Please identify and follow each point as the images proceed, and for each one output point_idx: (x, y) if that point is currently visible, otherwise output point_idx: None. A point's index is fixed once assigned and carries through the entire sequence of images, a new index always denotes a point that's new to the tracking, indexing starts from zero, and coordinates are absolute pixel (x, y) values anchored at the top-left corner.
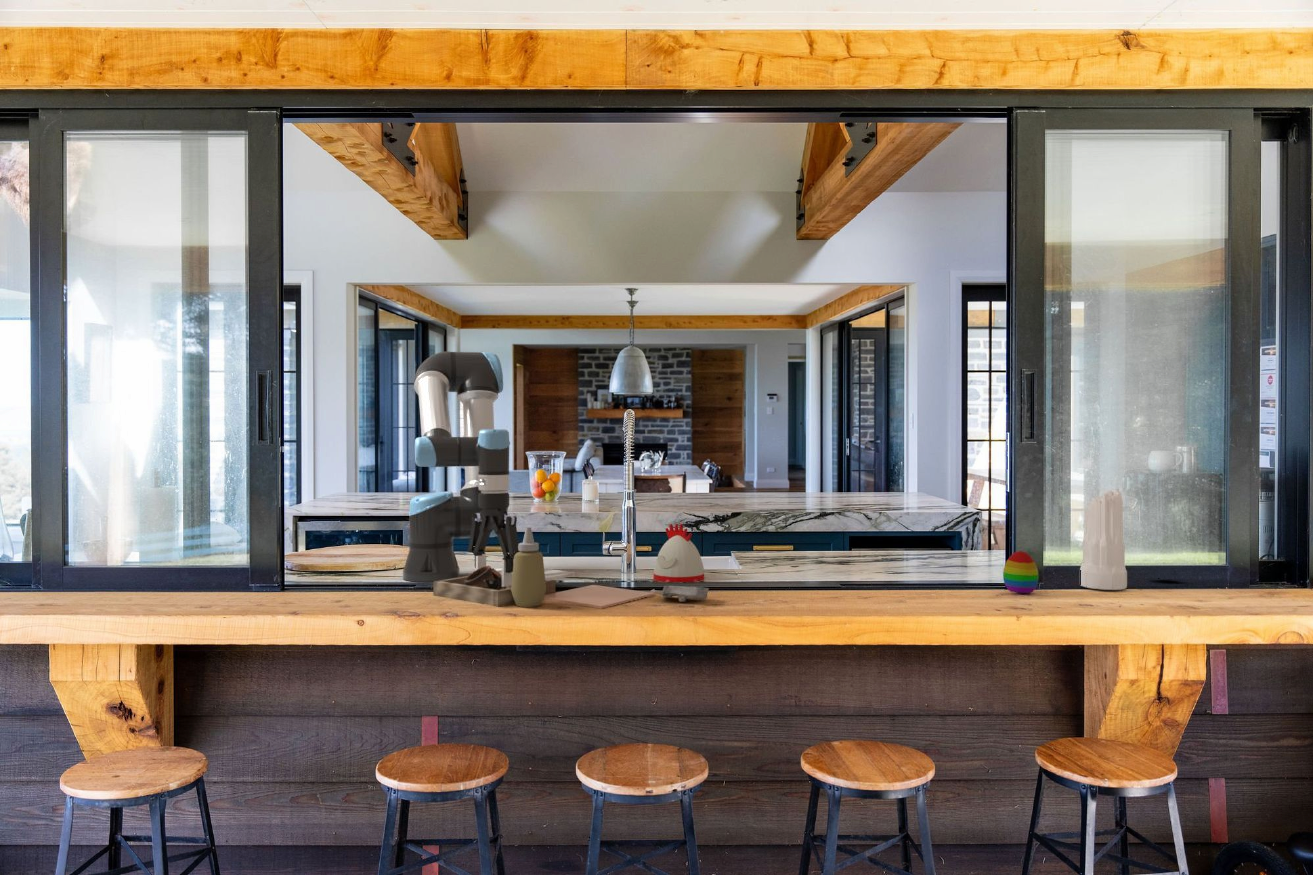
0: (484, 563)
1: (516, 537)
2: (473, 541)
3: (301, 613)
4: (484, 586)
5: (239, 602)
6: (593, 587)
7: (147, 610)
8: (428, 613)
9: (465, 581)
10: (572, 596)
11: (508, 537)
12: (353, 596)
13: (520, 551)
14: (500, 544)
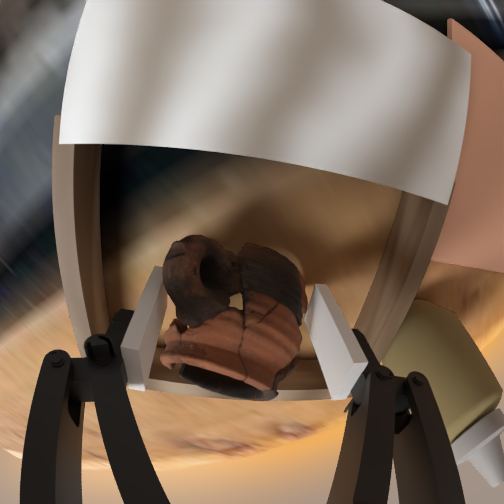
0: (150, 326)
1: (445, 456)
2: (80, 442)
3: (104, 457)
4: (98, 175)
5: (8, 421)
6: (473, 62)
7: (17, 444)
8: (250, 438)
9: (196, 384)
10: (478, 214)
11: (407, 483)
12: (21, 382)
13: (451, 442)
14: (340, 463)
